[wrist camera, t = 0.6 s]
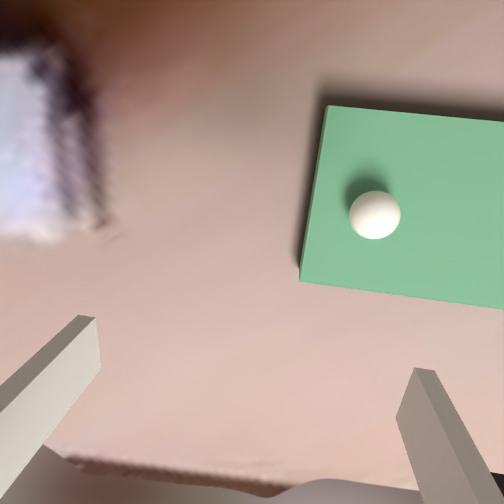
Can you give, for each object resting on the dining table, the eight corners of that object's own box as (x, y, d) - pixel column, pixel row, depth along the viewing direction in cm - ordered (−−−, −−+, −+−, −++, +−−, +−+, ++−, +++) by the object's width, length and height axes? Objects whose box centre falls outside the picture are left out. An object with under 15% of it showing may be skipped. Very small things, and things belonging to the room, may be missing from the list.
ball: (351, 184, 28) (359, 193, 25) (398, 189, 28) (413, 199, 24) (342, 227, 30) (348, 242, 26) (386, 233, 29) (399, 249, 26)
